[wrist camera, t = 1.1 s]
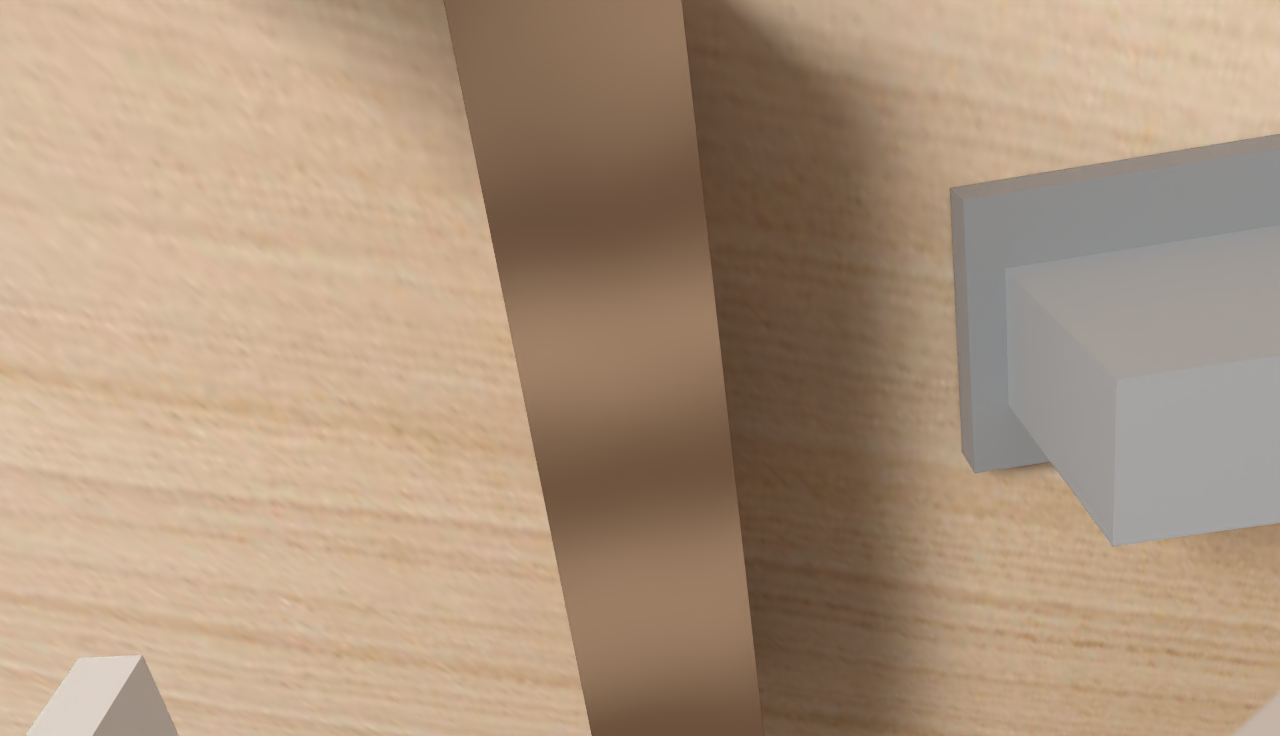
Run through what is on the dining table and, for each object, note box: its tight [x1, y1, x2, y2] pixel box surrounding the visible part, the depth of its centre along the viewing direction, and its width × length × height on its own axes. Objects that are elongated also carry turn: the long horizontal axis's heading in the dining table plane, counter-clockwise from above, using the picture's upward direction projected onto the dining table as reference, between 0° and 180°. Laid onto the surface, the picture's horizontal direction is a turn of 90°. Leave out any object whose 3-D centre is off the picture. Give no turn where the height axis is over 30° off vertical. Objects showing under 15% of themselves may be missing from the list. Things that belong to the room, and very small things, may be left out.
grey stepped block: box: [950, 134, 1280, 546], centre depth 25 cm, size 8×10×8 cm
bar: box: [444, 0, 764, 736], centre depth 27 cm, size 22×4×6 cm, turn 8°
